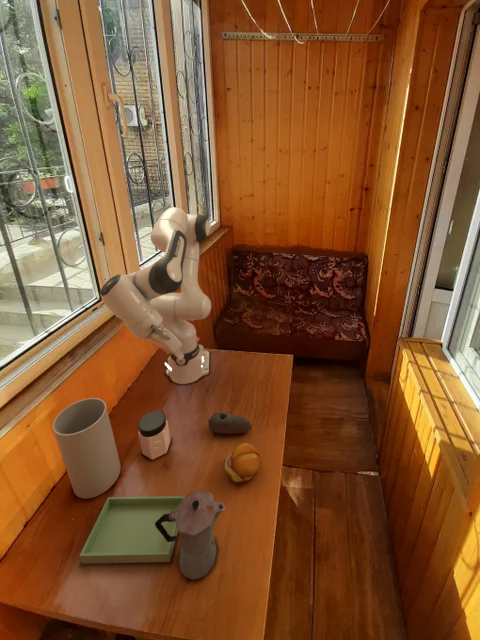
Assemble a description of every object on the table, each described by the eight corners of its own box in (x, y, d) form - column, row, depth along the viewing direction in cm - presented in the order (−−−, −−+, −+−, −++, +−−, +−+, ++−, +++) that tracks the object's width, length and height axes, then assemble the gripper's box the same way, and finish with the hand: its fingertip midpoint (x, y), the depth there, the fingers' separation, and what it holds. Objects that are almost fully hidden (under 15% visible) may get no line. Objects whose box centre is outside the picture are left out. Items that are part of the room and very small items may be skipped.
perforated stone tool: (253, 426, 112) (252, 412, 110) (250, 439, 107) (249, 424, 105) (213, 423, 113) (211, 408, 111) (208, 435, 109) (206, 420, 106)
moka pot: (230, 571, 74) (225, 517, 67) (161, 596, 70) (149, 540, 63) (226, 526, 83) (221, 474, 76) (164, 546, 79) (154, 493, 72)
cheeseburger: (240, 447, 104) (244, 428, 100) (264, 470, 100) (270, 452, 95) (217, 470, 97) (221, 452, 92) (242, 497, 92) (247, 479, 87)
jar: (144, 464, 99) (139, 436, 95) (140, 444, 105) (134, 417, 101) (173, 450, 103) (169, 423, 99) (167, 432, 110) (163, 406, 106)
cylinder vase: (123, 453, 102) (109, 393, 94) (118, 491, 91) (101, 427, 82) (79, 466, 98) (60, 404, 89) (68, 506, 87) (45, 441, 78)
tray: (110, 504, 88) (108, 496, 87) (185, 503, 88) (184, 495, 87) (81, 563, 75) (79, 555, 74) (169, 562, 76) (168, 554, 75)
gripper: (169, 320, 86) (198, 353, 91) (143, 312, 101) (169, 341, 106) (150, 337, 82) (181, 370, 88) (127, 326, 97) (155, 356, 103)
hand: (175, 354), depth 97 cm, fingers open, 8 cm apart
